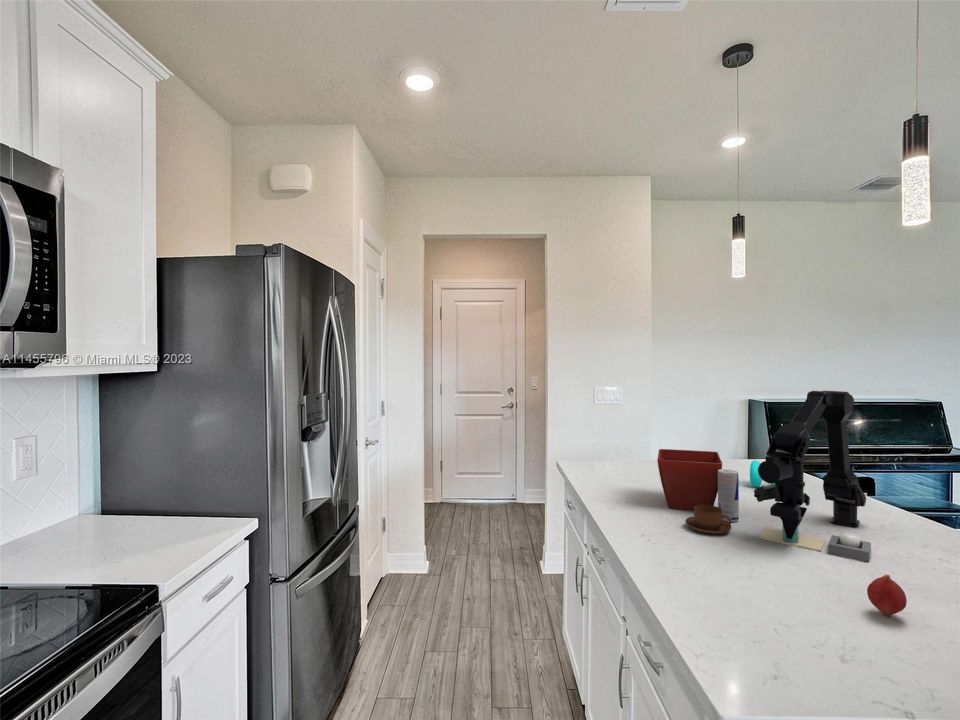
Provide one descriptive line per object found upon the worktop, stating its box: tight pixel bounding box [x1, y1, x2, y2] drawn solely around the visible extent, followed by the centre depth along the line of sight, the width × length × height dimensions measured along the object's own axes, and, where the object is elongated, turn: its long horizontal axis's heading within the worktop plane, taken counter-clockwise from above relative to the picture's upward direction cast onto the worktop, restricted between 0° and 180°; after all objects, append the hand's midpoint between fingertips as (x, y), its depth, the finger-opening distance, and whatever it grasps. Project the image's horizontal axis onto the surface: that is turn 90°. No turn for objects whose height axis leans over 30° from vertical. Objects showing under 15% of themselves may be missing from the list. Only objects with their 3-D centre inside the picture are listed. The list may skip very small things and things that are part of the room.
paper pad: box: [758, 526, 827, 553], centre depth 131 cm, size 10×14×1 cm
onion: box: [866, 573, 907, 617], centre depth 93 cm, size 6×6×8 cm
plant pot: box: [657, 448, 723, 512], centre depth 162 cm, size 19×19×17 cm
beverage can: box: [717, 468, 740, 523], centre depth 147 cm, size 6×6×15 cm
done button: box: [839, 532, 861, 548], centre depth 122 cm, size 4×4×3 cm
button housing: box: [827, 534, 872, 563], centre depth 122 cm, size 8×8×2 cm
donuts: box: [749, 460, 775, 488], centre depth 182 cm, size 10×10×10 cm
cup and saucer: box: [685, 505, 732, 535], centre depth 139 cm, size 12×12×6 cm
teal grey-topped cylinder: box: [782, 525, 800, 543], centre depth 129 cm, size 4×4×6 cm
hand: (790, 536), depth 129 cm, fingers closed on teal grey-topped cylinder, 4 cm apart
